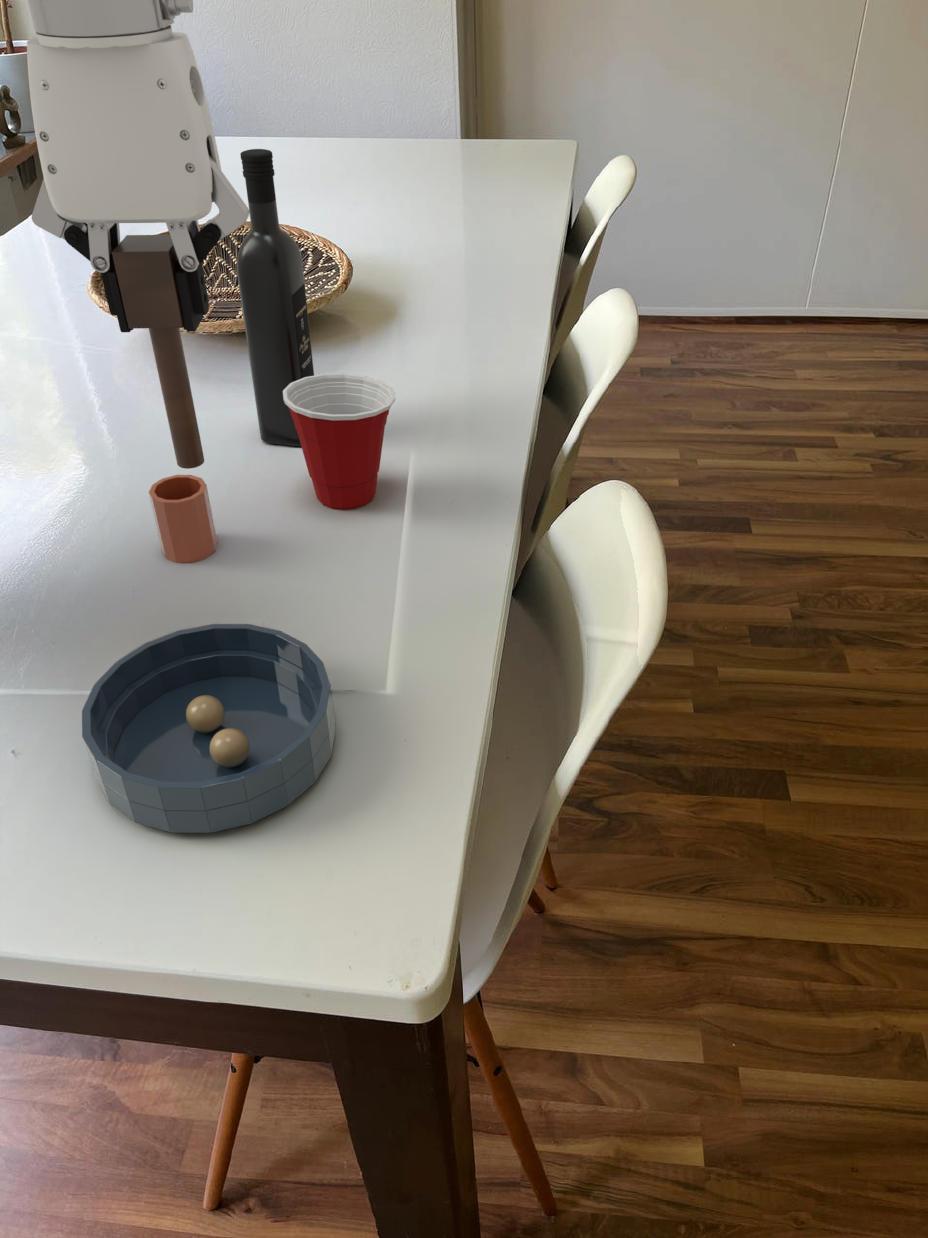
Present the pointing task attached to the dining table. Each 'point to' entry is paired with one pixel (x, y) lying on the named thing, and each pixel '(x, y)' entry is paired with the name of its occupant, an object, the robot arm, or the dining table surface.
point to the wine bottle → (272, 303)
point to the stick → (161, 331)
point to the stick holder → (183, 518)
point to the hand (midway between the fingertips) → (162, 321)
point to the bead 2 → (229, 747)
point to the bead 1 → (205, 714)
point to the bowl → (180, 756)
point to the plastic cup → (341, 434)
